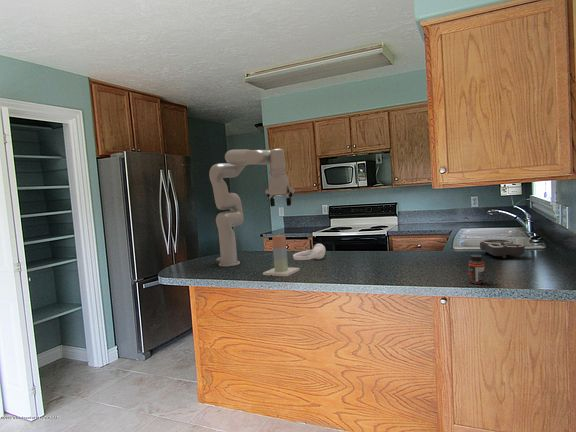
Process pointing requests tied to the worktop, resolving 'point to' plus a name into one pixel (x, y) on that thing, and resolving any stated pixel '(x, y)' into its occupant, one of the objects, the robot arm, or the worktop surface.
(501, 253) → the motorcycle dashboard
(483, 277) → the supplement bottle
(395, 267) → the worktop surface
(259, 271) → the worktop surface
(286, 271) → the plate
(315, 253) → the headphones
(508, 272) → the worktop surface
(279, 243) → the brick top
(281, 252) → the brick mid
